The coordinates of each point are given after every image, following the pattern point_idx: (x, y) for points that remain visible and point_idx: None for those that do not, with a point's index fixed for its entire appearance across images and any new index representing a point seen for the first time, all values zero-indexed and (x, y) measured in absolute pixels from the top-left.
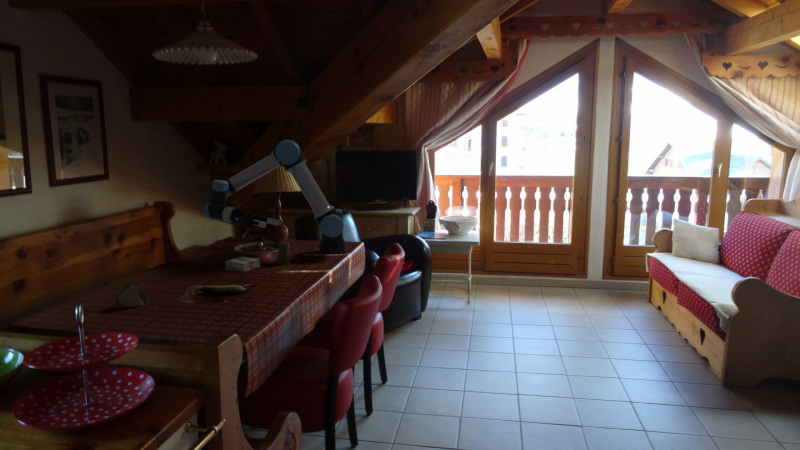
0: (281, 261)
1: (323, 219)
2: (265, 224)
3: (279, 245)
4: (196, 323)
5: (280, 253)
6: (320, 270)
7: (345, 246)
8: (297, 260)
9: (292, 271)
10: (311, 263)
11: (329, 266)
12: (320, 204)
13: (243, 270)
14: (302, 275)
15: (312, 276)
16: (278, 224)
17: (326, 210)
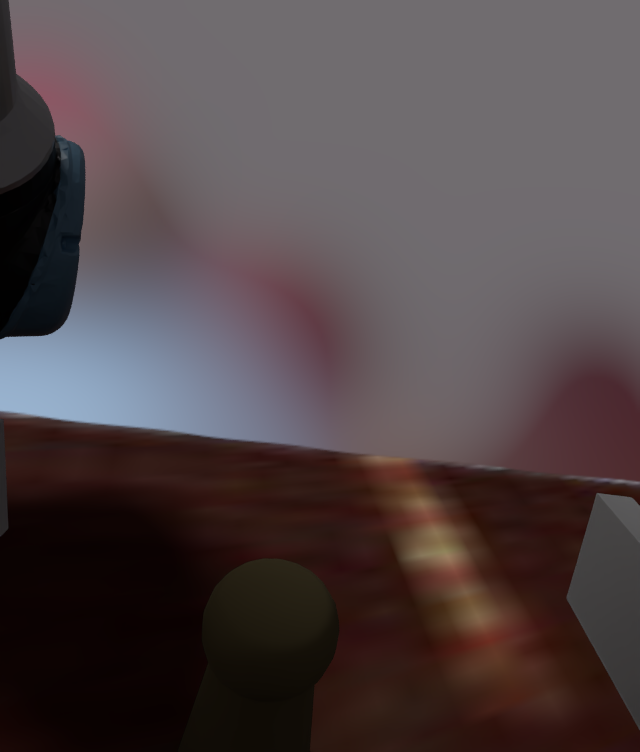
0: (309, 746)
1: (80, 192)
2: (598, 537)
3: (336, 645)
4: None
5: (311, 704)
6: (393, 487)
7: None
8: (71, 675)
9: (480, 615)
10: (210, 551)
11: (289, 462)
12: (10, 22)
13: None
14: (537, 545)
15: (527, 503)
16: (5, 506)
17: (33, 94)
